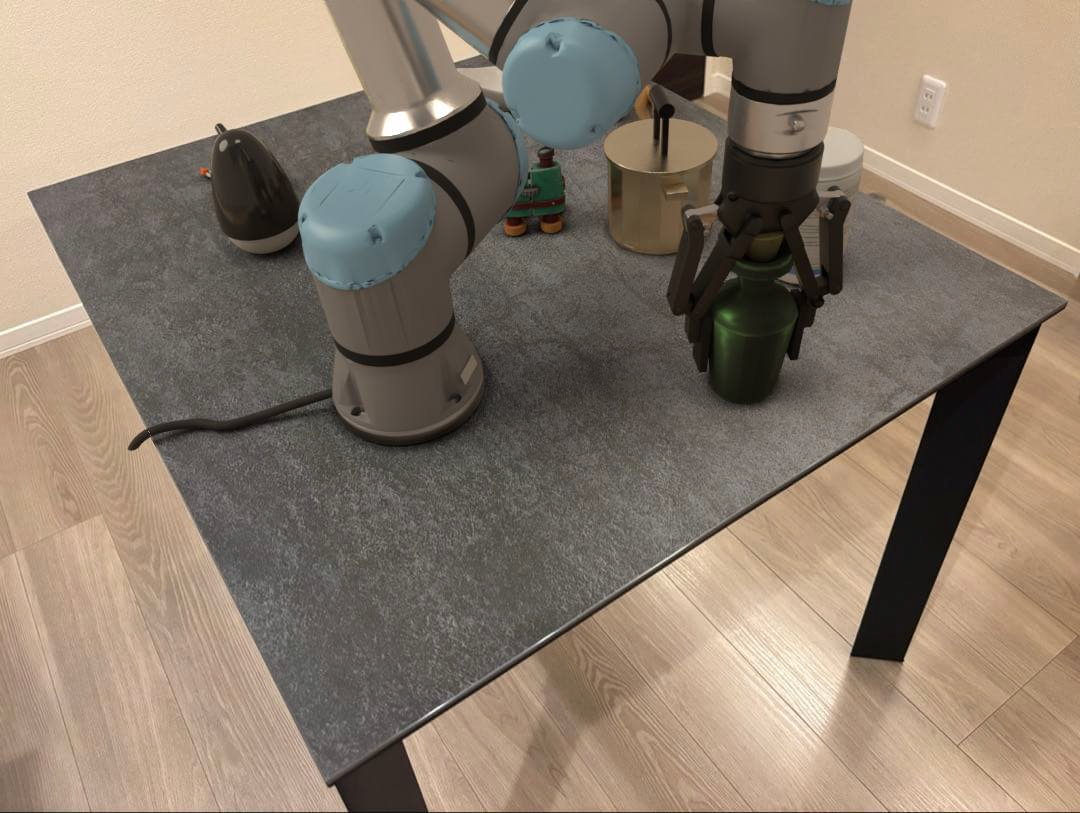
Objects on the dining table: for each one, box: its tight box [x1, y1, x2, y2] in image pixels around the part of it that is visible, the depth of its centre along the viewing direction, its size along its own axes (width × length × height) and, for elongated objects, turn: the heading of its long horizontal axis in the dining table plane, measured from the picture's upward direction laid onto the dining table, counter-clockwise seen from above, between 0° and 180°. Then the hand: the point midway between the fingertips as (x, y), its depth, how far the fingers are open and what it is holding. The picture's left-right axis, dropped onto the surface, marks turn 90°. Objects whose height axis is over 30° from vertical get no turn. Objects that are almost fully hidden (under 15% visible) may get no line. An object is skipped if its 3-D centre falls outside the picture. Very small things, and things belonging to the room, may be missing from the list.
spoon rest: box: [456, 65, 511, 112], centre depth 126 cm, size 24×12×7 cm, turn 114°
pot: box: [606, 159, 714, 256], centre depth 99 cm, size 12×17×10 cm
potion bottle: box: [708, 231, 798, 405], centre depth 76 cm, size 8×8×18 cm
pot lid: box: [603, 84, 719, 177], centre depth 93 cm, size 13×13×7 cm
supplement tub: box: [776, 125, 865, 285], centre depth 90 cm, size 10×10×15 cm
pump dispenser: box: [210, 122, 301, 255], centre depth 101 cm, size 10×10×15 cm
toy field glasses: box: [503, 145, 566, 237], centre depth 103 cm, size 9×11×10 cm
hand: (744, 357), depth 80 cm, fingers closed on potion bottle, 8 cm apart
